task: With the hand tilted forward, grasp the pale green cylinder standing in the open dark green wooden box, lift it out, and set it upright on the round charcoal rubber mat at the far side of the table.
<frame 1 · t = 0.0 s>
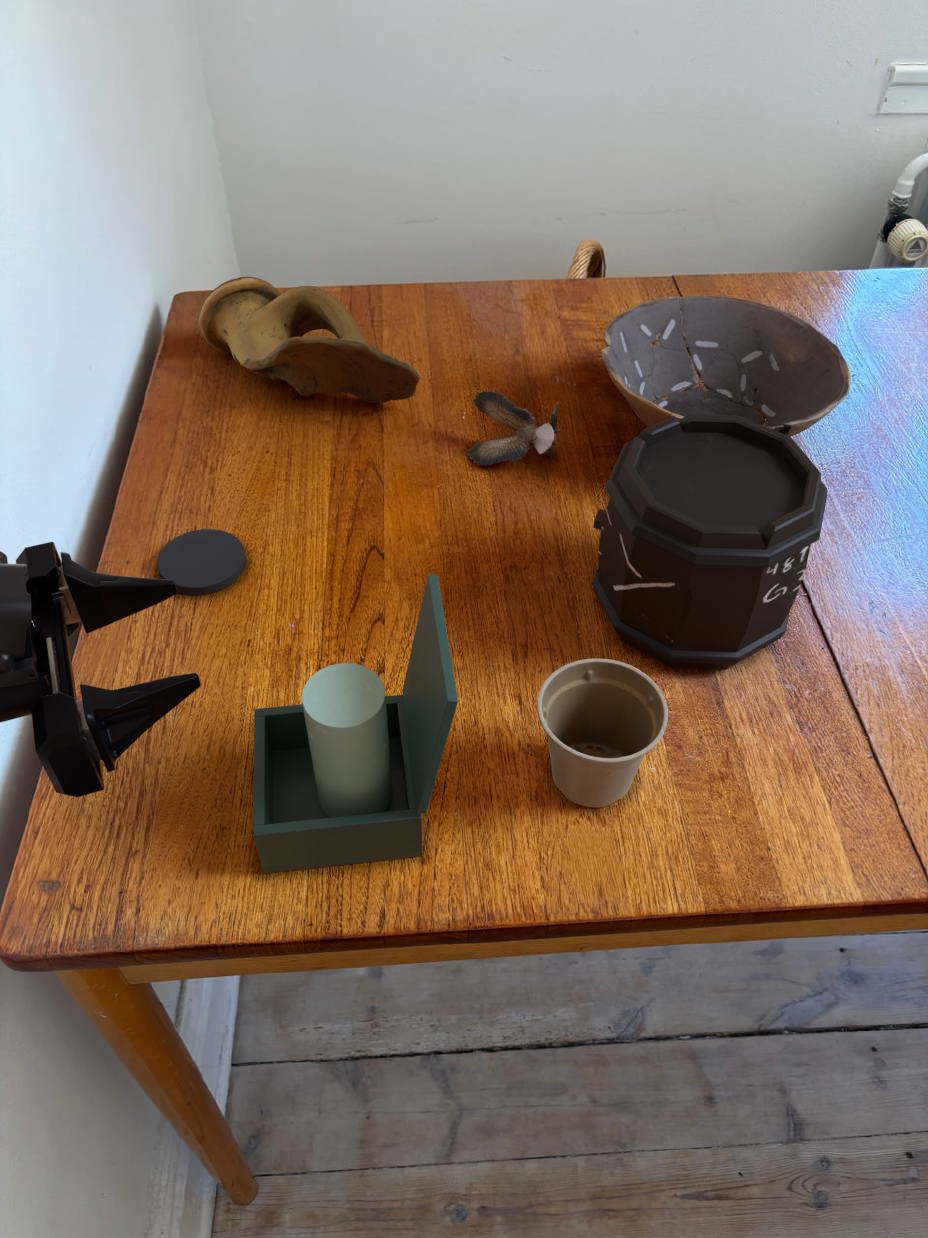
hand: (187, 631, 70), 14 cm above the table, tool horizontal, fingers open, 9 cm apart
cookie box: (340, 800, 77), on the table
brown looped sculpture: (311, 388, 115), on the table
flower pot: (590, 777, 79), on the table
wooden barrel: (682, 605, 92), on the table
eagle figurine: (513, 454, 107), on the table
box lid: (427, 695, 69), point 12 cm above the table, hinge at 100.0°
rubber mat: (203, 565, 95), on the table
pale green cylinder: (355, 793, 77), point 1 cm above the table, touching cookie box
bowl: (705, 435, 110), on the table
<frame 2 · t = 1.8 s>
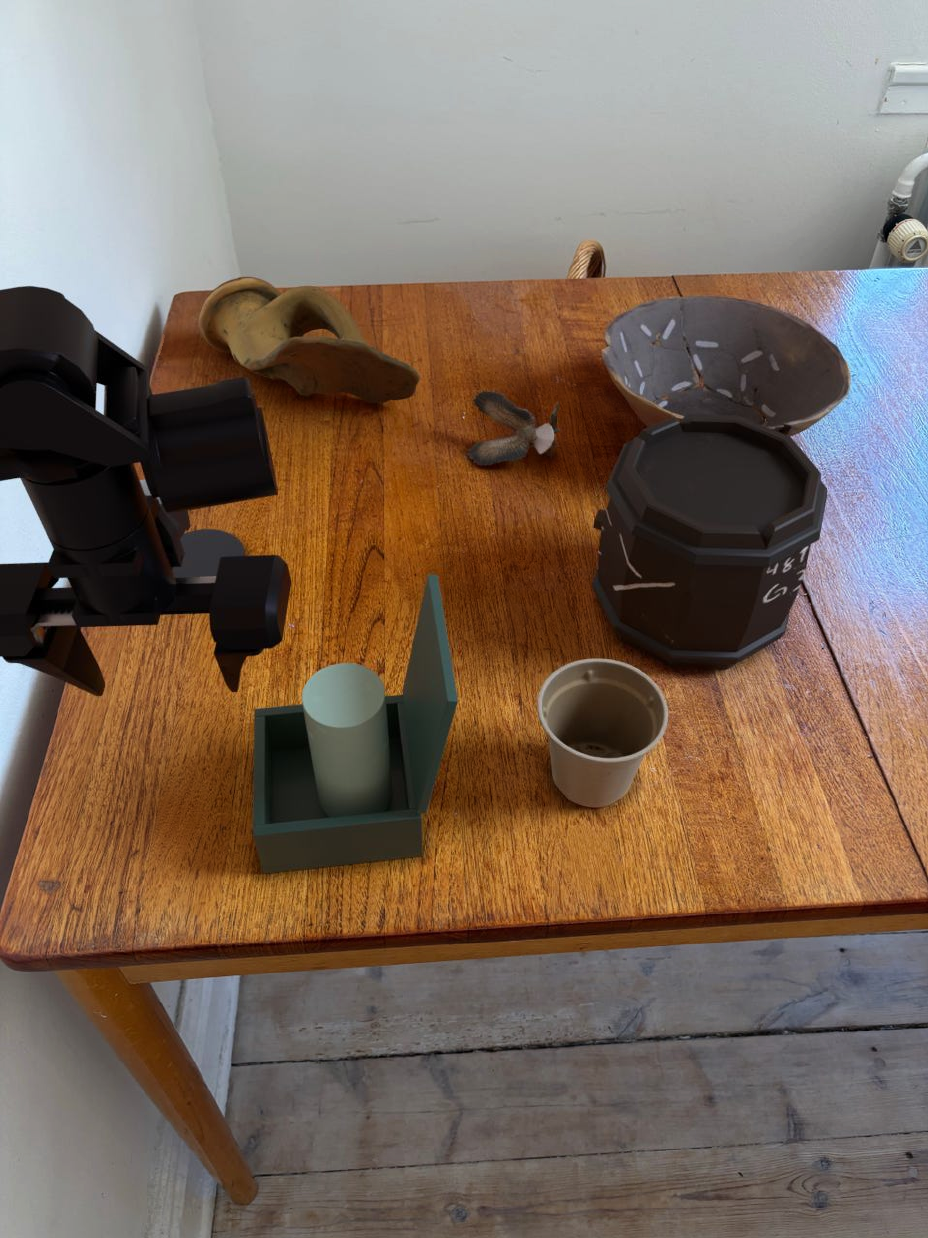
hand: (168, 688, 68), 13 cm above the table, tool pointing down, fingers open, 9 cm apart
nothing on the table moved.
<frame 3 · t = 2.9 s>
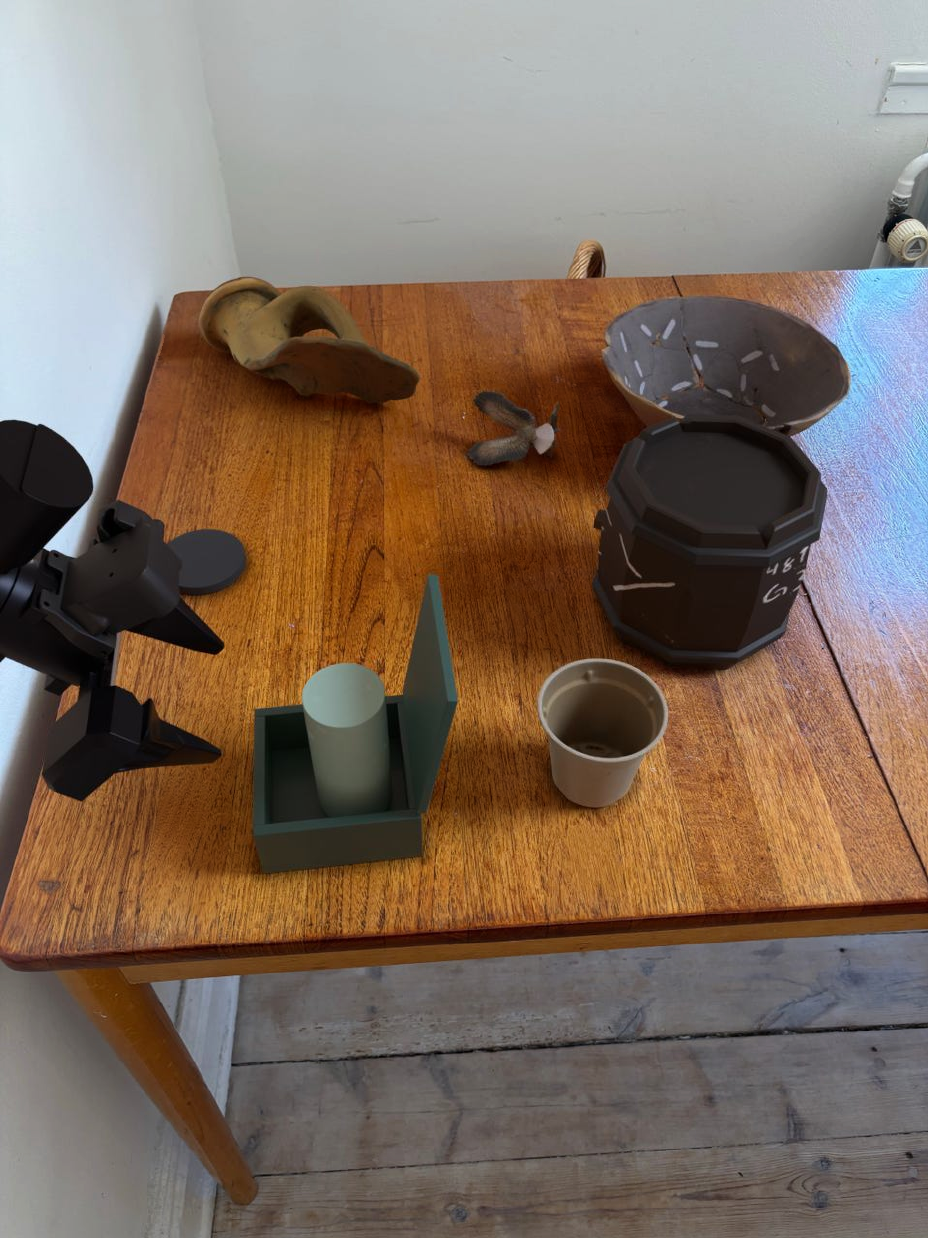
hand: (219, 701, 67), 13 cm above the table, tool tilted 45°, fingers open, 9 cm apart
nothing on the table moved.
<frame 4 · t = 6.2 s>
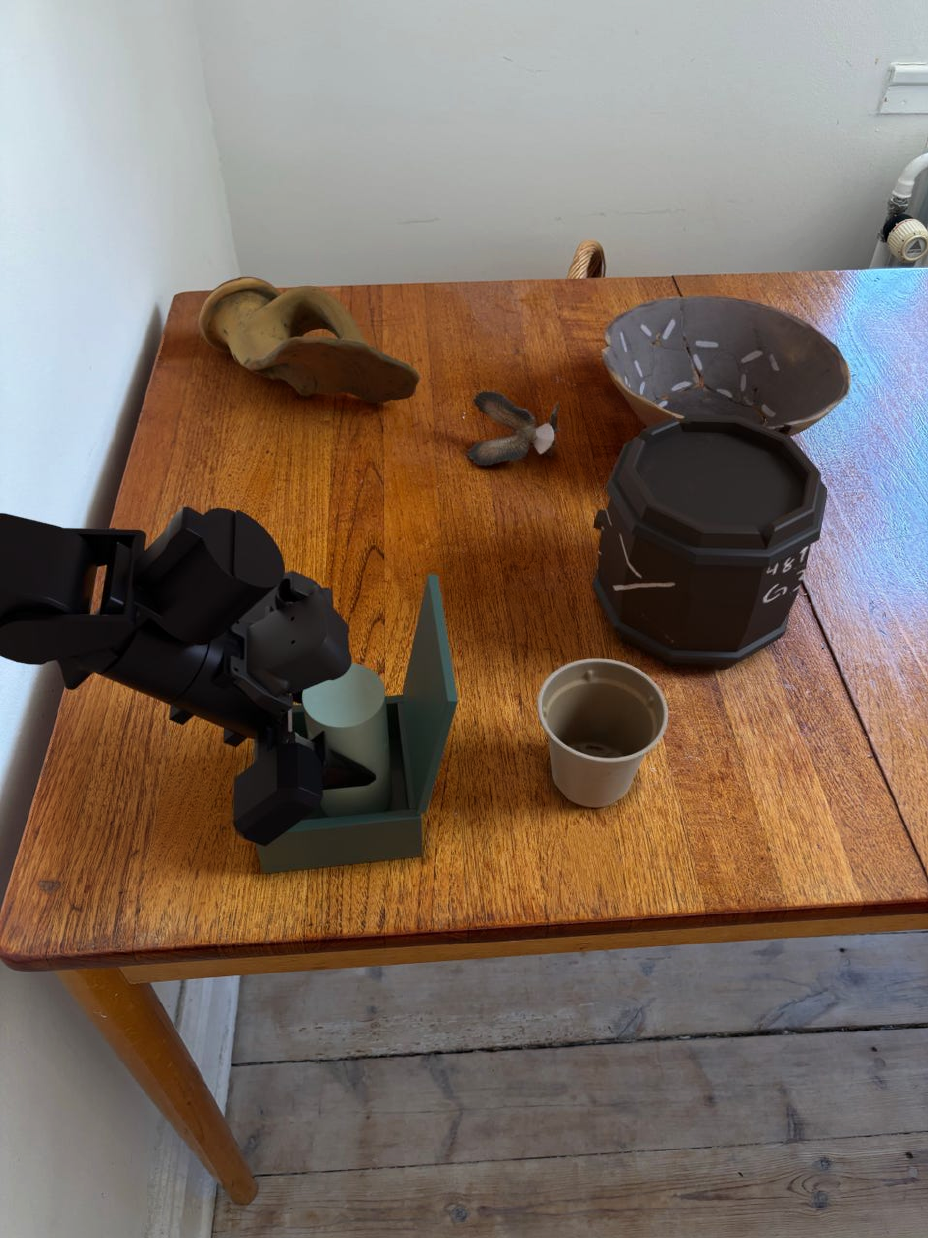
hand: (369, 746, 73), 7 cm above the table, tool tilted 45°, fingers closed on pale green cylinder, 5 cm apart
pale green cylinder: (355, 793, 77), point 1 cm above the table, touching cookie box, gripper
everything else where it was.
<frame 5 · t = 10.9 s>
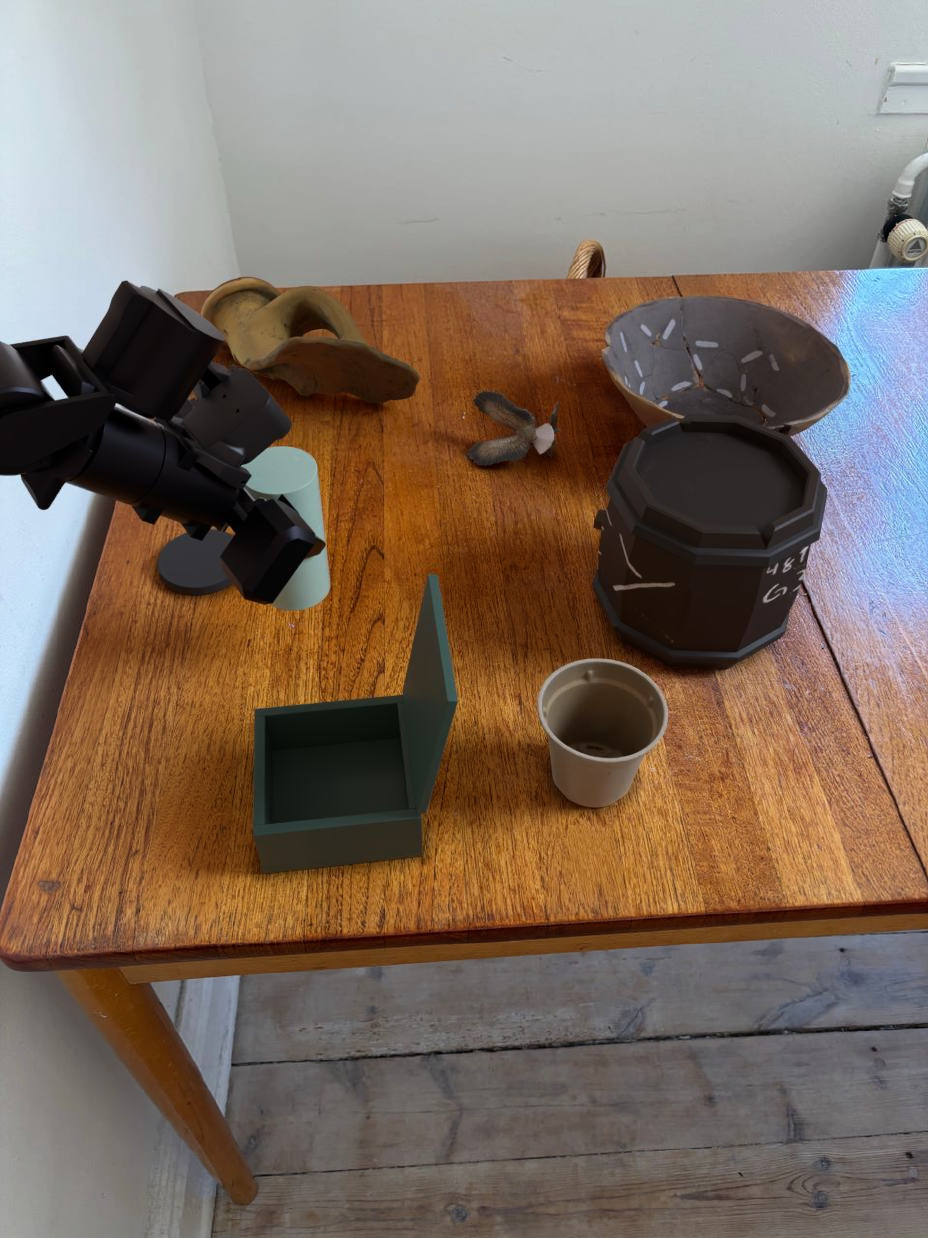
hand: (303, 526, 78), 13 cm above the table, tool tilted 45°, fingers closed on pale green cylinder, 5 cm apart
pale green cylinder: (295, 586, 82), point 8 cm above the table, touching gripper
everything else where it was.
when the fingers open (7 cm above the table, at t = 15.7 s): pale green cylinder stays where it is, resting on rubber mat.
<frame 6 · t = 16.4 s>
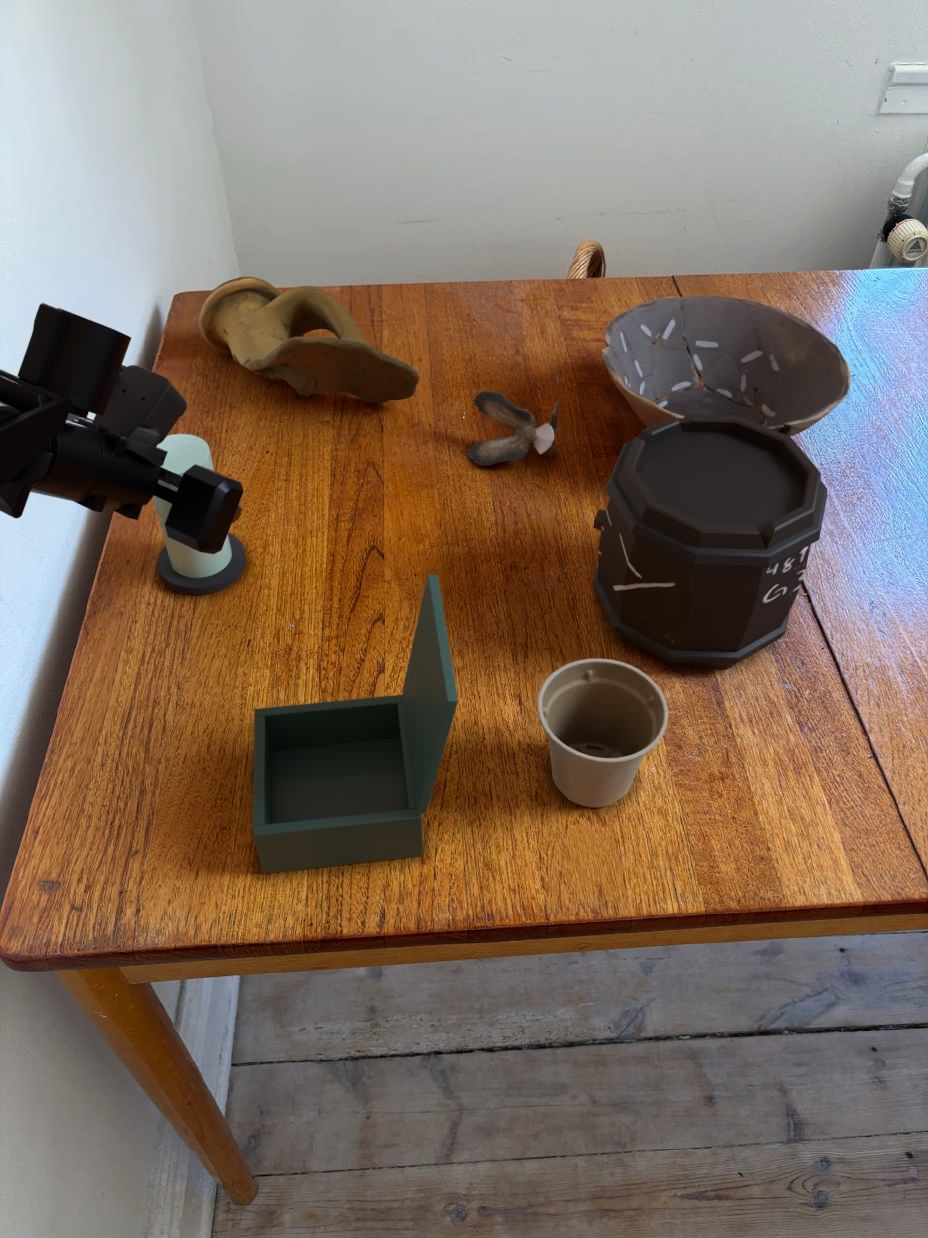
hand: (198, 495, 90), 7 cm above the table, tool tilted 45°, fingers open, 9 cm apart
pale green cylinder: (201, 557, 94), point 1 cm above the table, touching rubber mat
everything else where it was.
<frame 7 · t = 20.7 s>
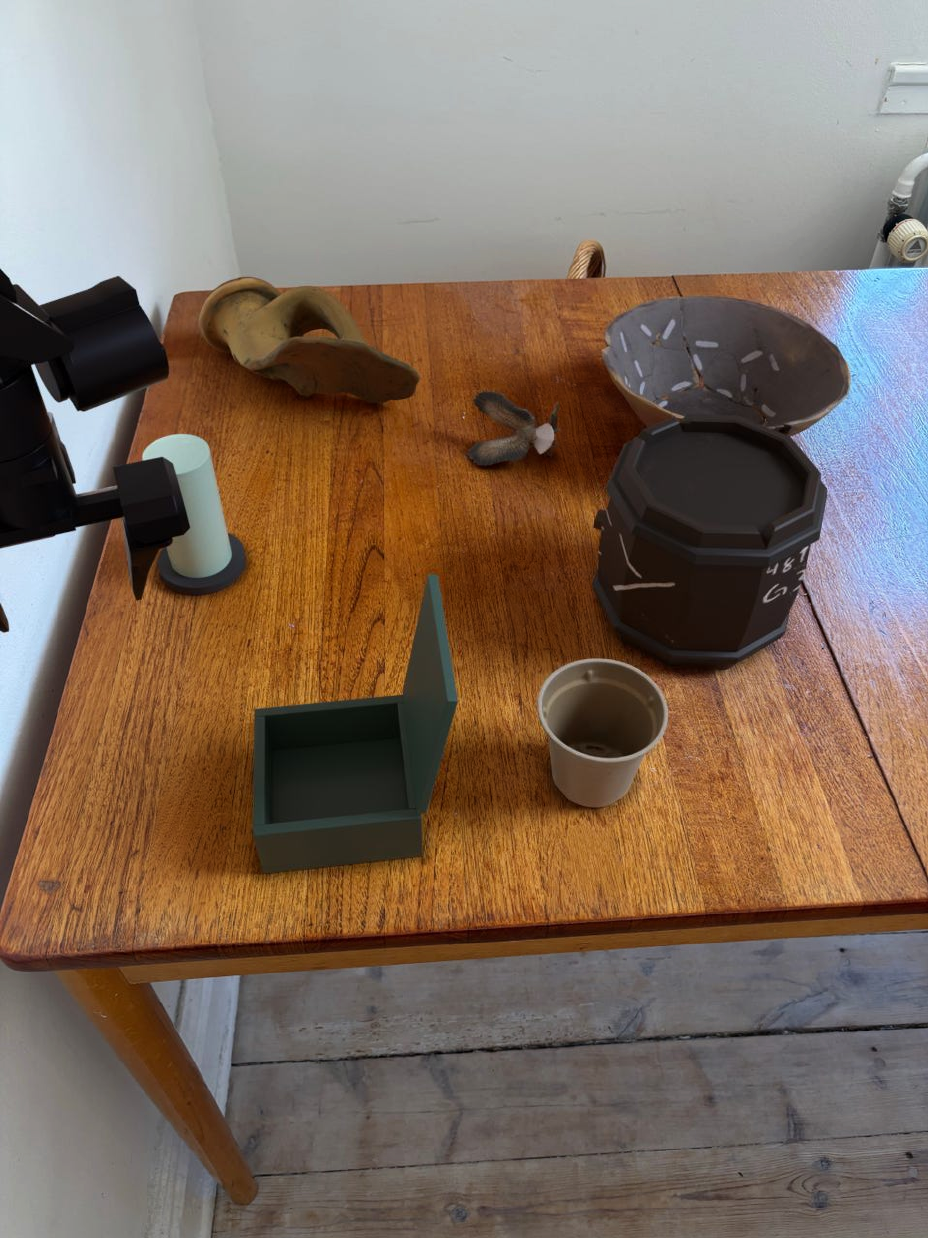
hand: (73, 611, 73), 13 cm above the table, tool pointing down, fingers open, 9 cm apart
nothing on the table moved.
at the end: pale green cylinder 0.0 cm off-centre on the rubber mat, point 1.0 cm above the rubber mat's base; pale green cylinder tilted 0°; pale green cylinder touching rubber mat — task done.
